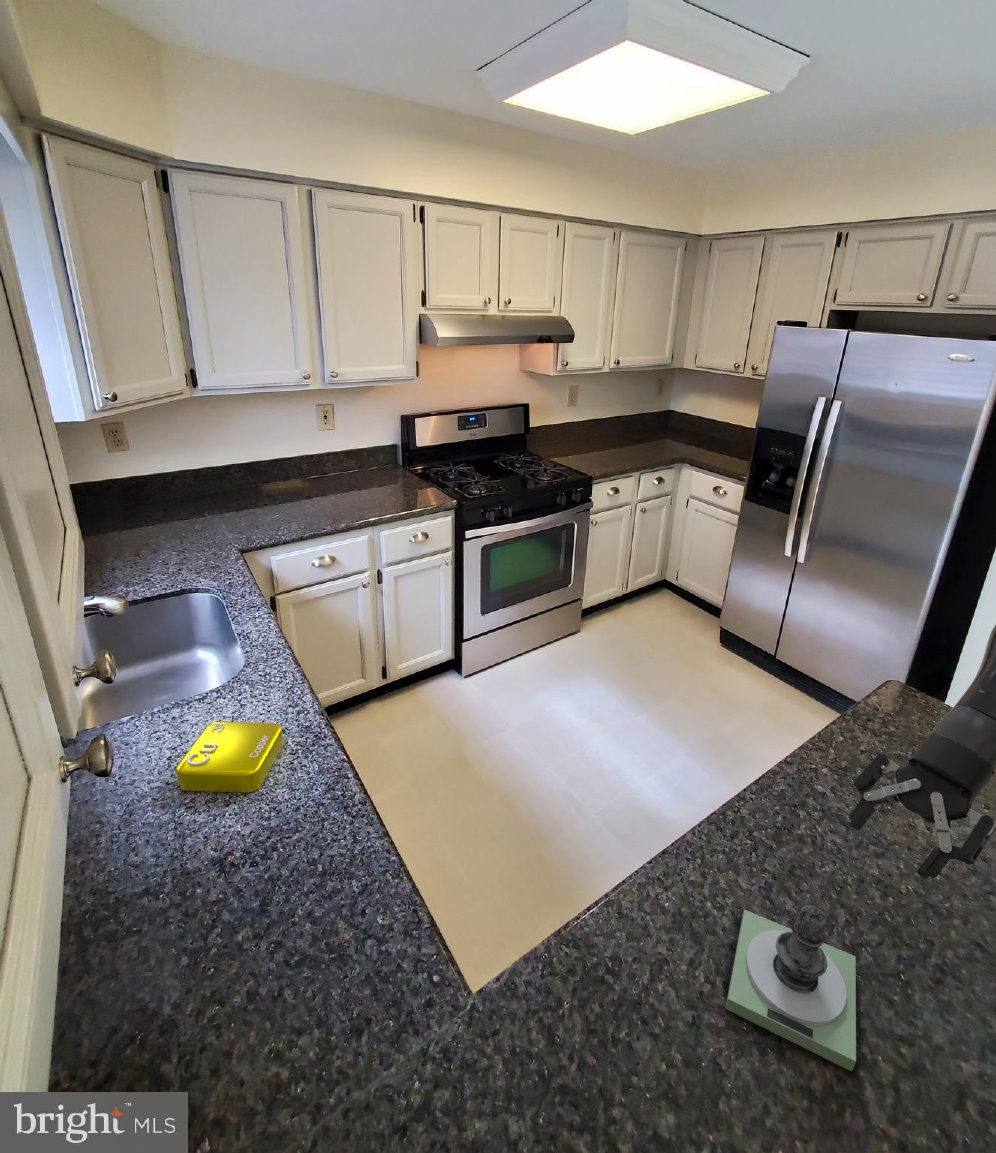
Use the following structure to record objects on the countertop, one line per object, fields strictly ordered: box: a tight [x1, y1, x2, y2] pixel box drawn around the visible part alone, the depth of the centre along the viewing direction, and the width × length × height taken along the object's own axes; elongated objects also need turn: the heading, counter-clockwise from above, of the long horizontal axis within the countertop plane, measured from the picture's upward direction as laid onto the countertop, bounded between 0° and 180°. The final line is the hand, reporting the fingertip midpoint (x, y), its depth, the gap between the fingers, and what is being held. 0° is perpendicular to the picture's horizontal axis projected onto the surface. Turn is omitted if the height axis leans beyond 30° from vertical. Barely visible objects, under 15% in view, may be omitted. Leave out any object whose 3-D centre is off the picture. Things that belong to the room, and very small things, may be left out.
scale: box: [724, 909, 857, 1072], centre depth 77 cm, size 14×14×3 cm
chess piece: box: [773, 905, 827, 993], centre depth 74 cm, size 6×6×12 cm
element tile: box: [175, 721, 285, 794], centre depth 113 cm, size 15×15×5 cm
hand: (886, 850), depth 76 cm, fingers open, 8 cm apart
